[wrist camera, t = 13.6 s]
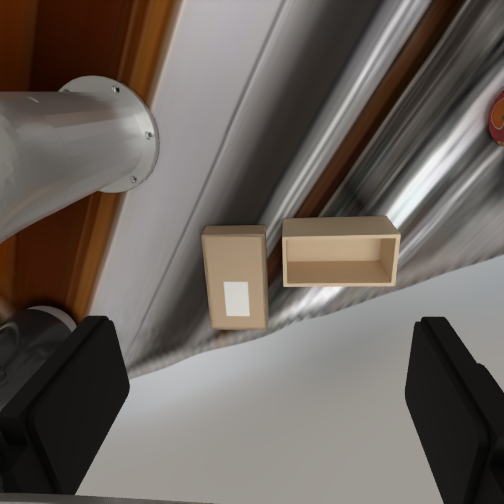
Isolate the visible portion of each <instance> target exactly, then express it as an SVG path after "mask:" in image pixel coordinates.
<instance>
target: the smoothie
mask: <svg viewBox="0 0 504 504" xmlns="http://www.w3.org/2000/svg"><path fill="white" fill-rule="evenodd" d="M488 124H489V129H490V133H491V136H492V137H493V139H494V140H495V141H496V142H497V144H499V145H501V146H503V147H504V91H503V92H502V93H501V94H500V95H499V96H498V98H497V99H496V101H495V102H494V103H493V105H492V108H491V110H490V113H489V123H488Z"/></svg>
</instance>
